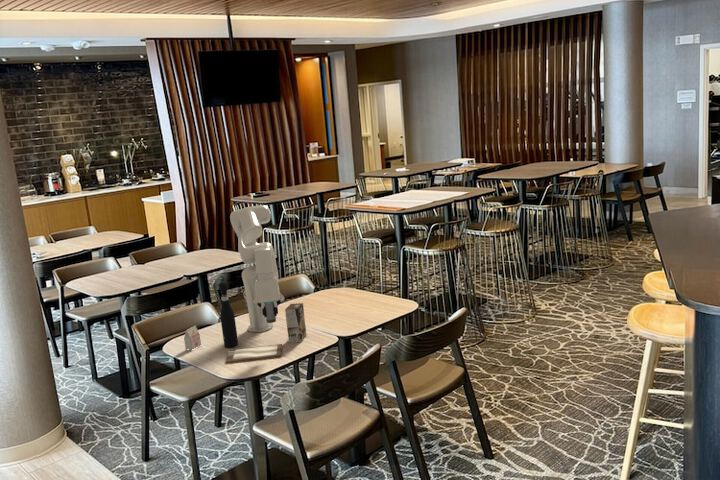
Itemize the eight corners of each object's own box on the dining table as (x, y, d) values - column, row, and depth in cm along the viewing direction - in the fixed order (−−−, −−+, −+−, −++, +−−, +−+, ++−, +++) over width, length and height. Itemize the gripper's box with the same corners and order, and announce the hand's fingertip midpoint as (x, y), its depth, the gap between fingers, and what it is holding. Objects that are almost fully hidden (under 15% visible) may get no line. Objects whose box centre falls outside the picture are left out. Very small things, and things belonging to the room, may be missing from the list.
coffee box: (301, 342, 306) (297, 308, 303) (288, 342, 307) (284, 309, 304) (307, 335, 314) (303, 302, 311) (294, 335, 316) (290, 303, 313)
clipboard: (229, 352, 302) (228, 347, 302) (282, 345, 304) (281, 341, 303) (225, 363, 288) (225, 359, 288) (281, 357, 290) (280, 352, 289)
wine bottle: (240, 343, 312) (232, 281, 306) (234, 348, 306) (225, 285, 300) (228, 343, 314) (220, 281, 308) (221, 348, 308) (213, 285, 302)
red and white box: (185, 350, 310) (182, 330, 308) (195, 345, 316) (192, 325, 314) (192, 351, 308) (189, 330, 306) (201, 345, 314) (198, 325, 312)
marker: (266, 320, 296) (263, 294, 293) (276, 319, 296) (273, 293, 293) (266, 323, 291) (263, 297, 289) (276, 322, 292) (272, 296, 289)
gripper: (245, 280, 285) (251, 320, 289) (284, 275, 286) (289, 316, 290) (247, 275, 293) (252, 315, 296) (285, 271, 294) (289, 311, 297)
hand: (270, 315), depth 293 cm, fingers closed on marker, 4 cm apart
